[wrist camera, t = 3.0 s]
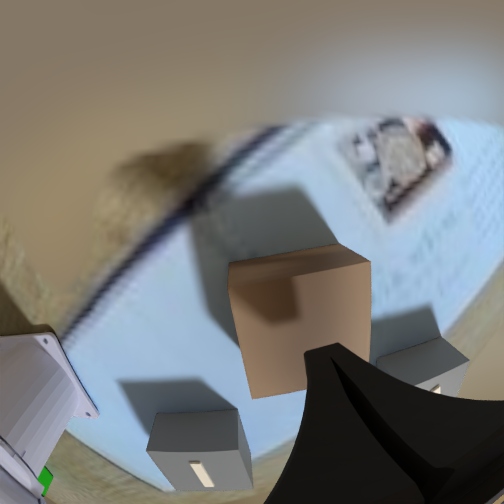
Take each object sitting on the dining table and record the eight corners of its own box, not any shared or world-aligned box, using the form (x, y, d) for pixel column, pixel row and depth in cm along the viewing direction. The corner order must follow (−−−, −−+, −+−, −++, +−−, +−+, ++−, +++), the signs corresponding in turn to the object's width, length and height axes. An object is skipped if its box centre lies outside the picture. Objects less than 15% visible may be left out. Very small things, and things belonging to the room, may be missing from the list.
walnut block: (248, 355, 16) (252, 399, 12) (229, 261, 15) (227, 288, 11) (343, 336, 16) (368, 372, 12) (338, 242, 15) (370, 261, 11)
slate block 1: (181, 455, 18) (176, 492, 14) (157, 411, 17) (145, 452, 13) (250, 451, 18) (253, 490, 14) (237, 406, 17) (238, 452, 13)
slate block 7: (366, 412, 18) (385, 447, 14) (376, 356, 17) (403, 392, 13) (425, 391, 18) (448, 419, 14) (439, 335, 17) (471, 361, 13)
